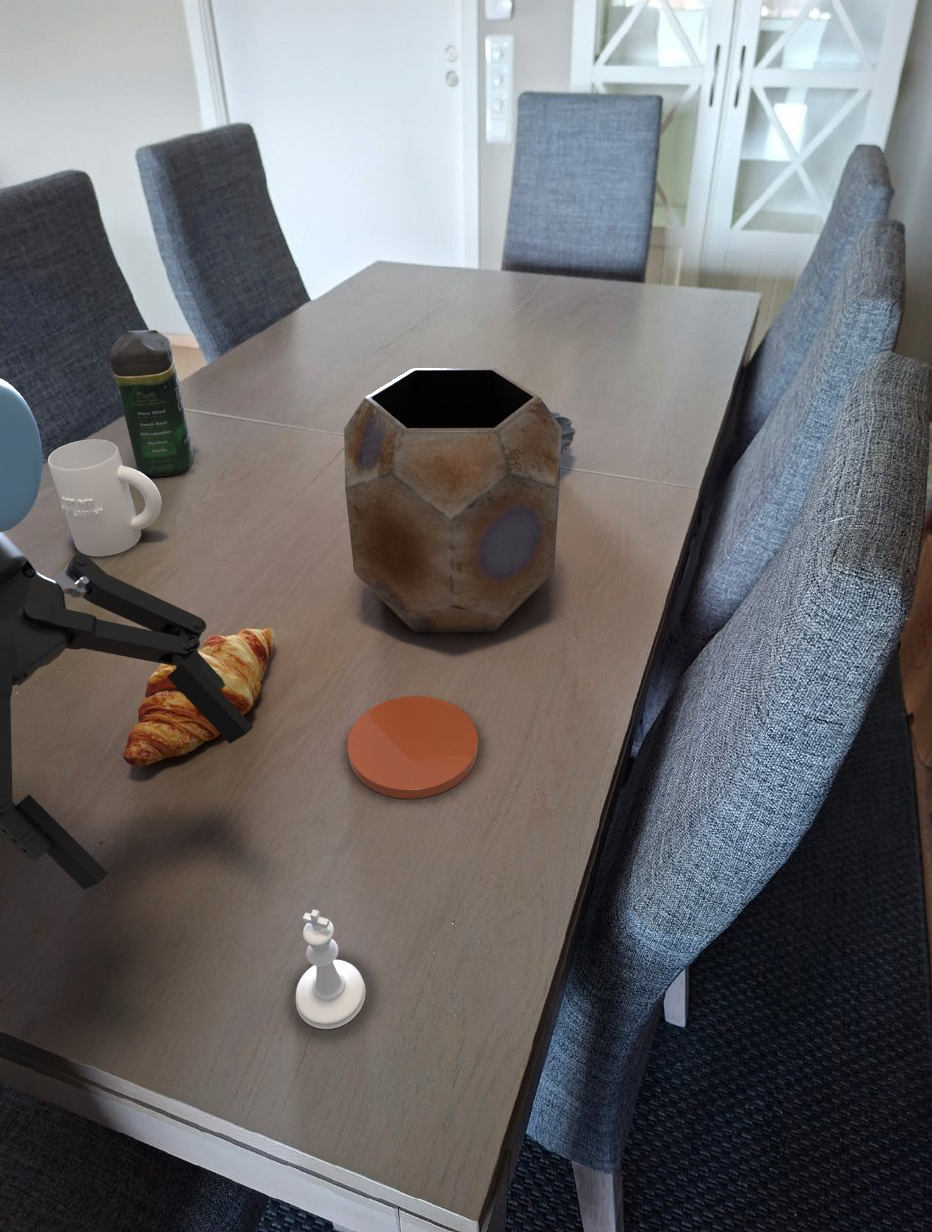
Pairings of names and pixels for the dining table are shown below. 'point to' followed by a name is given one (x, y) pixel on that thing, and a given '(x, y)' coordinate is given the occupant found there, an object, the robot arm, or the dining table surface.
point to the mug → (101, 497)
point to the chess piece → (327, 979)
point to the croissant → (174, 719)
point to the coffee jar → (152, 402)
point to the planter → (453, 496)
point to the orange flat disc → (412, 747)
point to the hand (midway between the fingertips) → (175, 803)
